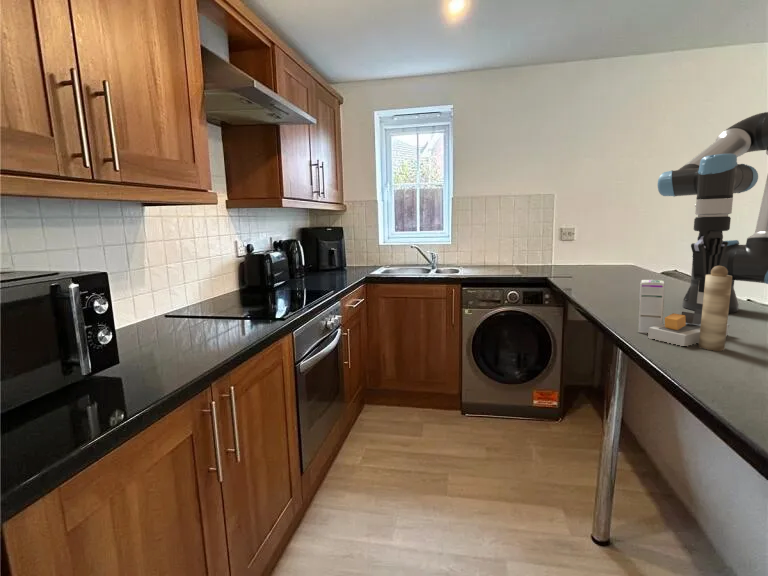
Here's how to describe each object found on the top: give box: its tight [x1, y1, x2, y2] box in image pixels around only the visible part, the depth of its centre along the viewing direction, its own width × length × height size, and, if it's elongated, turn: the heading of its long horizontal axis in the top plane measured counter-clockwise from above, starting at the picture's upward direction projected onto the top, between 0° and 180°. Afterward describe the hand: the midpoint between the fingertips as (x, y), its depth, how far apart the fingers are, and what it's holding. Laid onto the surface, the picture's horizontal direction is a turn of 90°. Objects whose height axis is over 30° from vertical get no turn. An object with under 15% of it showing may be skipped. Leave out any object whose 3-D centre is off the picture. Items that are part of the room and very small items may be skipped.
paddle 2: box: [693, 309, 702, 317], centre depth 113 cm, size 4×3×3 cm
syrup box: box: [637, 279, 666, 334], centre depth 117 cm, size 6×6×14 cm
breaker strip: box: [647, 321, 730, 347], centre depth 111 cm, size 20×9×3 cm, turn 116°
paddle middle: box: [680, 311, 702, 325], centre depth 111 cm, size 4×3×3 cm
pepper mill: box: [698, 266, 732, 352], centre depth 101 cm, size 5×5×20 cm
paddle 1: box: [664, 313, 686, 330], centre depth 108 cm, size 4×3×3 cm
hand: (703, 303), depth 113 cm, fingers closed
